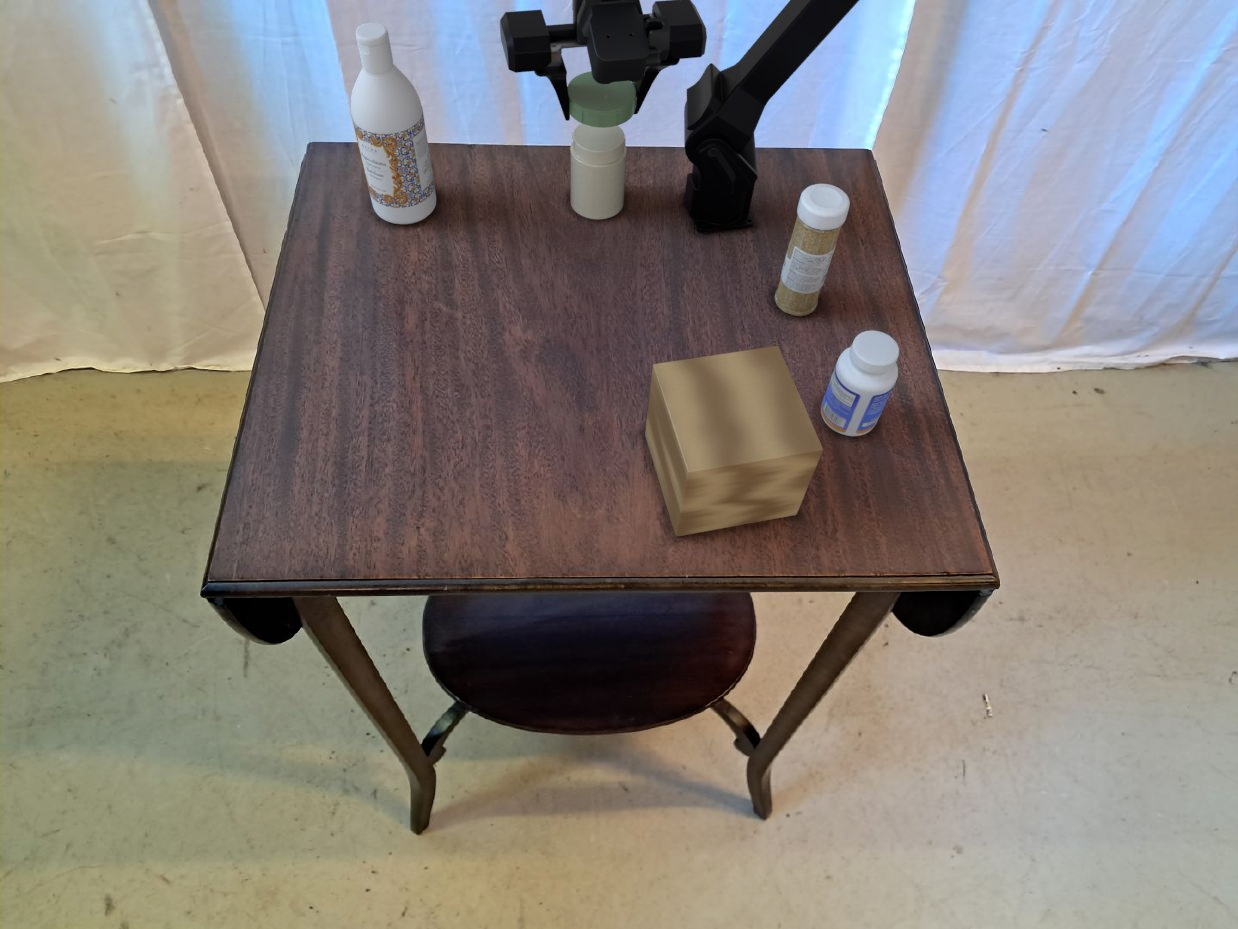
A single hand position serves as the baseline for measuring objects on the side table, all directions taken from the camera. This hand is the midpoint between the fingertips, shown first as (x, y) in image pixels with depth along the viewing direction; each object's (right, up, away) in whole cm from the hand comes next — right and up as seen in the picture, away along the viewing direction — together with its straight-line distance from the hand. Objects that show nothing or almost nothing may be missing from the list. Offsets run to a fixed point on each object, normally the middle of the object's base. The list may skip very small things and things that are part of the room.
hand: (600, 115), depth 89 cm
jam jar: (-1, -6, +10) cm, 11 cm away
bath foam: (-22, -7, +8) cm, 24 cm away
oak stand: (+11, -36, -10) cm, 39 cm away
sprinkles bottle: (+20, -19, +2) cm, 28 cm away
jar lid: (0, +1, -2) cm, 2 cm away
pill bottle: (+24, -31, -6) cm, 39 cm away
